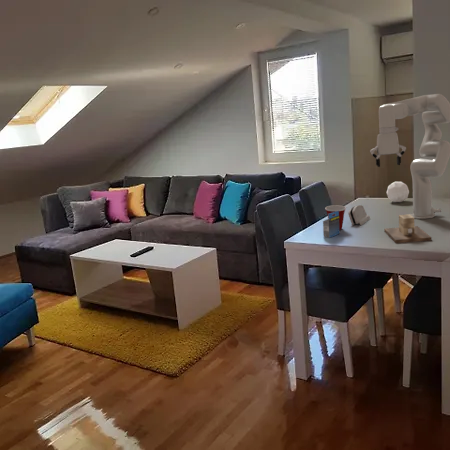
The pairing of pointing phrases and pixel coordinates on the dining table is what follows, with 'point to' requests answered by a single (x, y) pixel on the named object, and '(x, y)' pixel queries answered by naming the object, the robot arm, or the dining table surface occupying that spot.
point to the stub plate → (401, 238)
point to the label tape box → (331, 225)
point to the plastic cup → (333, 209)
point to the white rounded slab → (358, 215)
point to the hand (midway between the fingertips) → (388, 165)
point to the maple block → (406, 224)
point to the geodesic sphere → (397, 191)
